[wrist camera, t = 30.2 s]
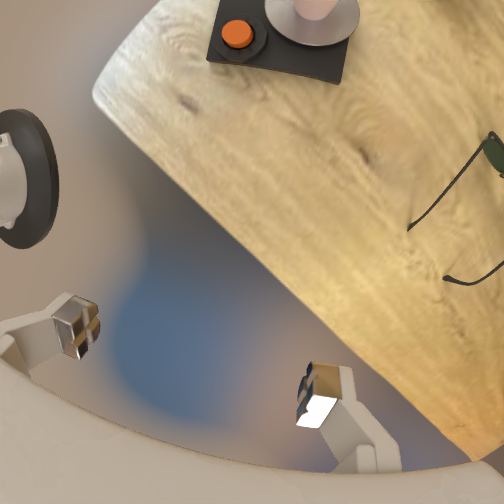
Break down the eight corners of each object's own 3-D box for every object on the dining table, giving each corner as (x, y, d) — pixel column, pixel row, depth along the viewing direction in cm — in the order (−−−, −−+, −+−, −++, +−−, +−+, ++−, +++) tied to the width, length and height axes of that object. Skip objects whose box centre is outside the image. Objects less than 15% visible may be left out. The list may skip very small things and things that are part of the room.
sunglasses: (391, 212, 34) (404, 225, 29) (475, 126, 27) (496, 129, 22) (451, 291, 36) (464, 310, 32) (522, 217, 30) (541, 229, 25)
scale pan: (257, 37, 25) (256, 35, 24) (273, -32, 21) (273, -35, 20) (351, 57, 25) (352, 56, 24) (363, -14, 20) (364, -16, 20)
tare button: (222, 46, 26) (219, 42, 25) (228, 23, 25) (224, 18, 23) (250, 49, 26) (247, 45, 24) (255, 26, 25) (253, 21, 23)
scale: (209, 62, 29) (201, 56, 27) (229, -19, 24) (223, -30, 22) (338, 84, 29) (342, 81, 26) (353, 0, 24) (358, -9, 21)
